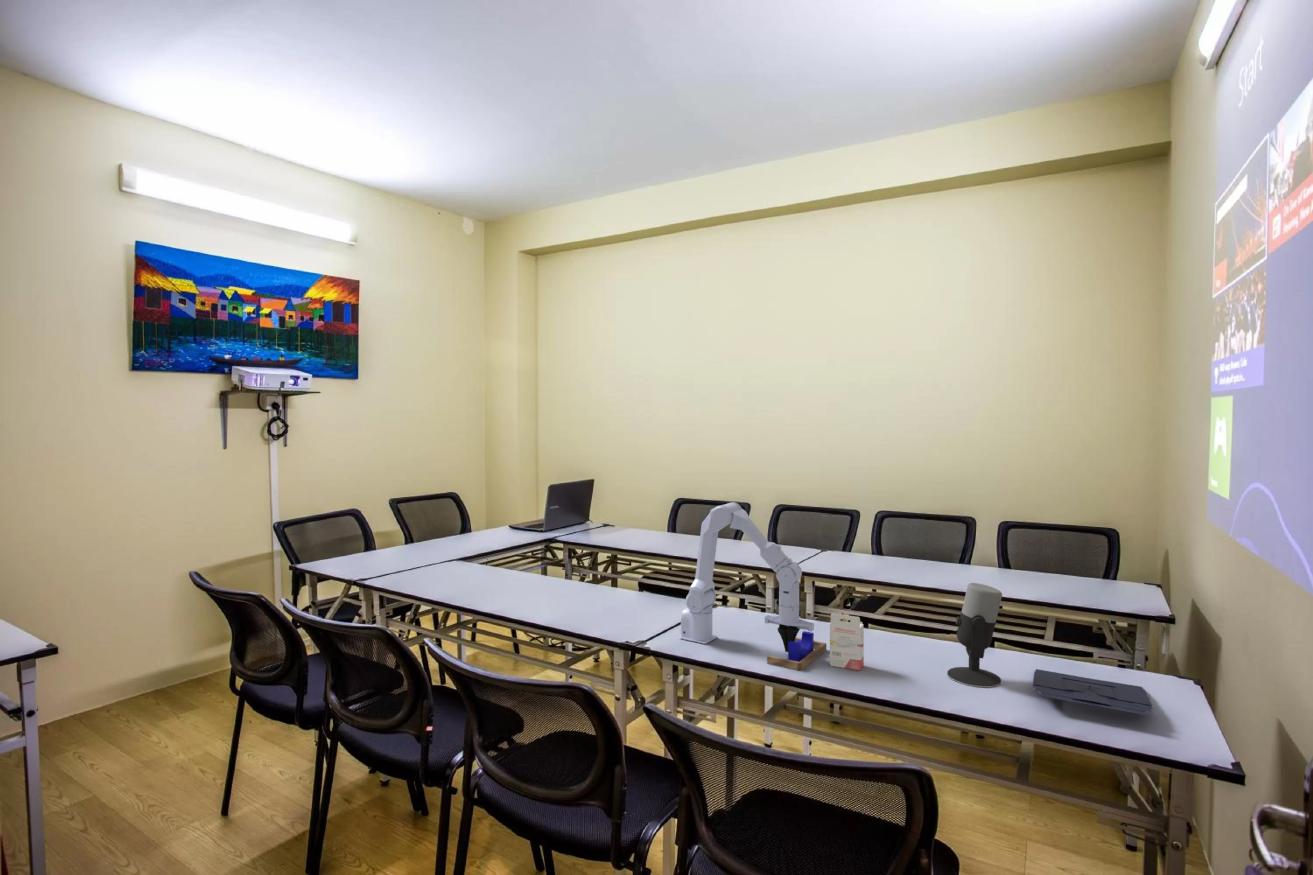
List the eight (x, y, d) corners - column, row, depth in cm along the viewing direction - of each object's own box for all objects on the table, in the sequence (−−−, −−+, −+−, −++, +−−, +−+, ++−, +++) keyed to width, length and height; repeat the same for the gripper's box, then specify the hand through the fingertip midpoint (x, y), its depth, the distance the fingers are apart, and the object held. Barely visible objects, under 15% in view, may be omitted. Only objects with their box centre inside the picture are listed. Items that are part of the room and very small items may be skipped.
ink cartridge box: (864, 665, 191) (864, 612, 190) (860, 671, 187) (861, 617, 186) (833, 659, 195) (833, 608, 194) (829, 665, 191) (829, 613, 190)
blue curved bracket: (798, 650, 204) (799, 630, 203) (813, 653, 201) (813, 632, 201) (783, 662, 194) (783, 641, 193) (798, 665, 191) (798, 644, 191)
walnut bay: (767, 663, 192) (767, 656, 192) (794, 643, 209) (794, 636, 209) (801, 670, 187) (801, 663, 187) (826, 649, 203) (826, 643, 203)
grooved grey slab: (1030, 705, 162) (1031, 689, 162) (1034, 678, 188) (1034, 665, 188) (1157, 730, 150) (1157, 712, 150) (1143, 697, 175) (1143, 683, 176)
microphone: (1006, 689, 174) (1008, 592, 173) (951, 684, 177) (953, 588, 177) (995, 671, 187) (996, 580, 186) (943, 666, 190) (945, 577, 189)
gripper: (818, 605, 198) (817, 651, 199) (771, 597, 206) (771, 642, 207) (809, 611, 192) (808, 659, 193) (761, 603, 200) (761, 649, 201)
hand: (788, 651), depth 199 cm, fingers closed
